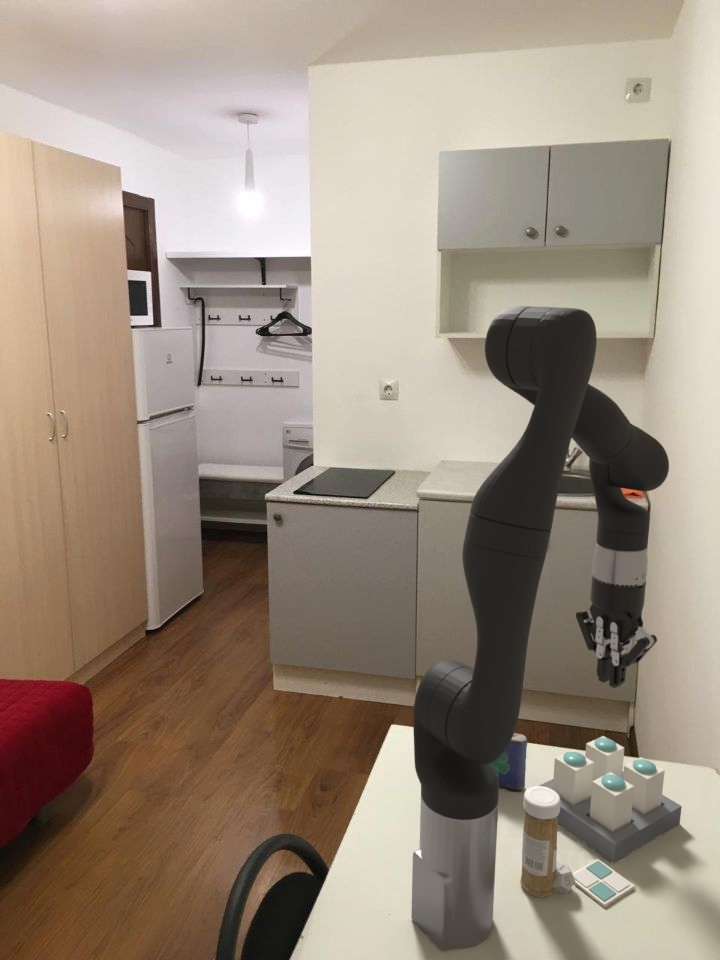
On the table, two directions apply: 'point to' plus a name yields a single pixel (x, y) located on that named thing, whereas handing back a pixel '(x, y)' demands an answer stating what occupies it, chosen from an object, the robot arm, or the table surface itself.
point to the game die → (563, 878)
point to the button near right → (611, 802)
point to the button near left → (573, 777)
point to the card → (601, 882)
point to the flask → (512, 765)
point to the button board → (623, 839)
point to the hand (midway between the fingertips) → (610, 682)
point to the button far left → (605, 757)
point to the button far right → (645, 784)
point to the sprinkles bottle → (539, 840)
